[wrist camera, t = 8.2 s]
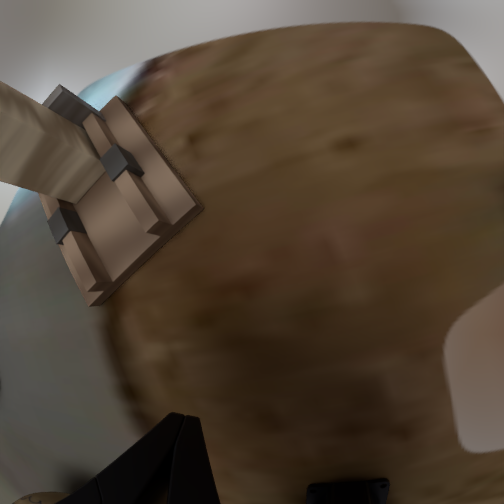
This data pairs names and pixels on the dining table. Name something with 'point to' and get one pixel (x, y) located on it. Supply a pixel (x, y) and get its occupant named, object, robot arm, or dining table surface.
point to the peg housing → (116, 199)
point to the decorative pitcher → (42, 498)
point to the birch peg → (44, 149)
